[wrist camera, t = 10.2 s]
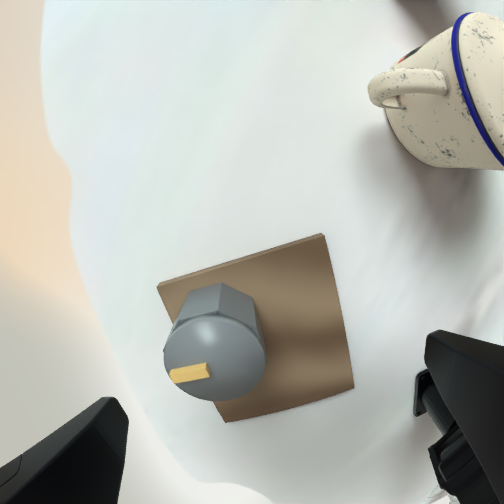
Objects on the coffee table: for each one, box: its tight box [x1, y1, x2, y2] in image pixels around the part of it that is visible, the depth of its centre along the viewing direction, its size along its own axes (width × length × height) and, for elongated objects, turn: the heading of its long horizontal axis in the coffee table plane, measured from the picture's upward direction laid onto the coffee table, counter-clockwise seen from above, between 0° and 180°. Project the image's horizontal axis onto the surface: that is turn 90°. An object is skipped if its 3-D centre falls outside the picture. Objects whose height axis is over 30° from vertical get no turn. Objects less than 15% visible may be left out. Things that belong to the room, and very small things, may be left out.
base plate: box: [157, 233, 354, 423], centre depth 18 cm, size 13×11×4 cm
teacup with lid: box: [368, 12, 504, 170], centre depth 10 cm, size 12×9×12 cm
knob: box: [163, 282, 267, 401], centre depth 16 cm, size 5×5×5 cm
